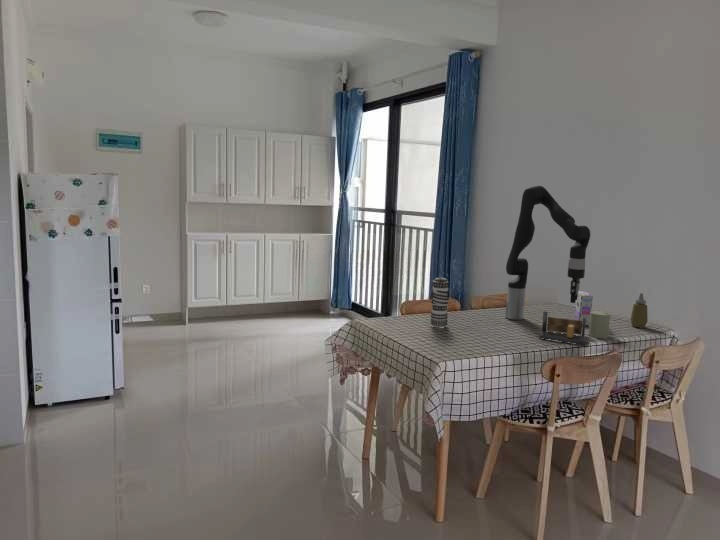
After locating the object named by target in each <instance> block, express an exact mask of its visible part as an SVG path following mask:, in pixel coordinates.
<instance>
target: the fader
mask: <svg viewBox="0 0 720 540" xmlns="http://www.w3.org/2000/svg"><path fill="white" fill-rule="evenodd" d="M573 336H574V325H570V324H569V325H568V329H567V337H570V338H572V337H573Z"/></svg>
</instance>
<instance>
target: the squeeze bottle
mask: <svg viewBox="0 0 720 540" xmlns="http://www.w3.org/2000/svg"><path fill="white" fill-rule="evenodd" d="M646 302H647V301H646V300H645V299H644V293H642V292H640V293H639V296H638V298H637V299H635V303H634V304H633V306H632V310H631V314H630V323H631V326H632V327H633V326H634V327H633V328H636V327H644V328H646V325H647V323H648V305H647V303H646Z"/></svg>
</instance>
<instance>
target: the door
mask: <svg viewBox="0 0 720 540" xmlns="http://www.w3.org/2000/svg"><path fill="white" fill-rule="evenodd" d="M569 324H570V325H574V334H578V335H582V328H583V326H582V321H580V320H575V319H571V318H563V317H554V316H553V317H552V316H547V327H546V331H554V332H562V333H567V329H568V325H569Z"/></svg>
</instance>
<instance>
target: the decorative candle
mask: <svg viewBox="0 0 720 540" xmlns="http://www.w3.org/2000/svg"><path fill="white" fill-rule="evenodd" d="M432 283H433V284H432V290H431V294H430V296H431V308H432V309H431V312H430V314H431V315H430V327H431V326H433V327H446V328H448V317H449V316H448V305H449V302H448V301H449V300H450V298H449V297H450V295H448V294H450V289H449V280H448V279H447V278H445V277H435V278H434V279H433V280H432ZM433 327H432V328H433Z"/></svg>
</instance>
